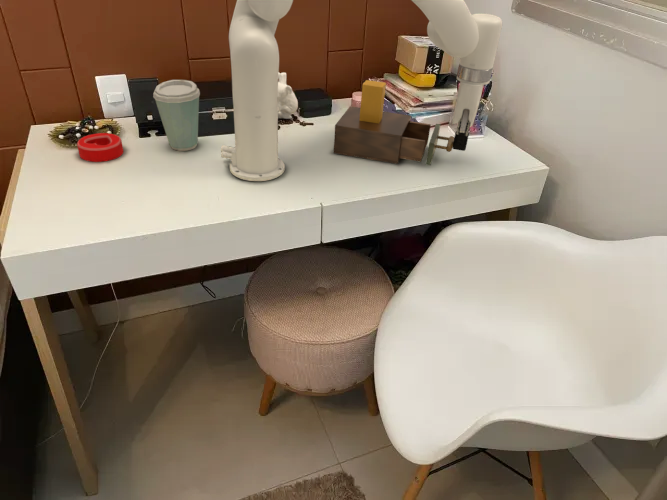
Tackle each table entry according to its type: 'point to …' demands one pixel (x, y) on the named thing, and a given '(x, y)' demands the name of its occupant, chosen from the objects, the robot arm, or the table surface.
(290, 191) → the table surface
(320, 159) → the table surface
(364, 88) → the block
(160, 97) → the disposable coffee cup
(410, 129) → the drawer
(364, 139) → the cabinet
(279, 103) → the white figurine
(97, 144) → the decorative ornament
